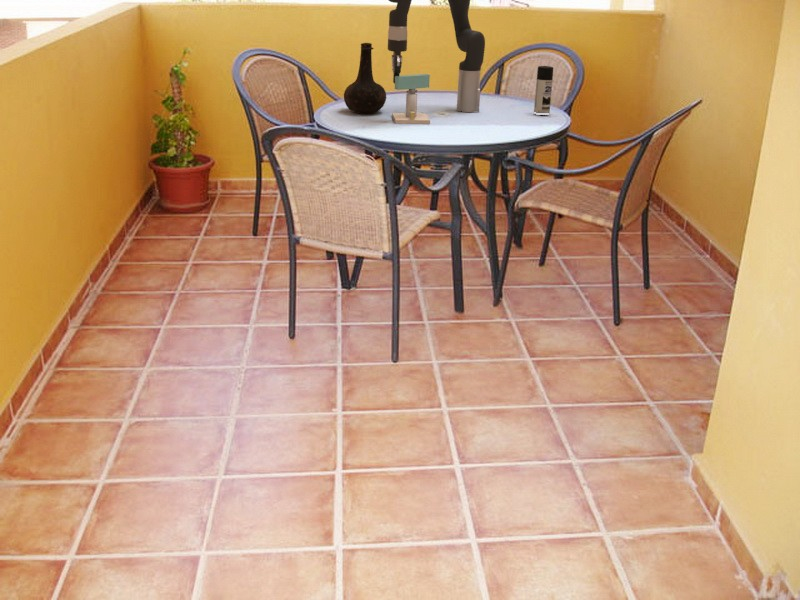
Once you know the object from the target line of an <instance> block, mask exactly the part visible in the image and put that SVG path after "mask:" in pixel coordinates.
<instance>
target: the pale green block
mask: <svg viewBox="0 0 800 600" xmlns="http://www.w3.org/2000/svg"><path fill="white" fill-rule="evenodd" d="M430 77H431V75H430V74H427V73H421V74H420V73H418V74H406V75H399V76H395V84H394V90H397V91H403V90H406V94H407V93H409V94H418V89H427V88H428V89H429V88H430Z"/></svg>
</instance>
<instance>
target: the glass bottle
mask: <svg viewBox="0 0 800 600" xmlns="http://www.w3.org/2000/svg"><path fill="white" fill-rule="evenodd" d="M372 44H373V43H370V42H363V43H360V56H359V67H358V73H357V76H356V79H355V80H354V82H352V83H351V84H349V85H348V86H347V87H346V88H345V90H344V92H343V101H344V104H345V105H346V108H347V109H349V110H350V111H351V112H353V113H356V114H360V115H361V114H362V115H363V114H364V115H369V114H371V113H372V114H376V113H378V112H379V111H380V110H381V109H382V108H383V107H384V106H385V103H386V102H387V101H386V100H387V92H386V90H385V87H383V85H381V84H380V83H378V82H375V80H374V76H373V75H374V74H373V62H372V59H373V58H372V50H373V49H374V47H372Z"/></svg>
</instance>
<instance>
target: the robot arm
mask: <svg viewBox="0 0 800 600" xmlns="http://www.w3.org/2000/svg"><path fill="white" fill-rule="evenodd" d="M388 1H389V2H391V3H393V4H394V3H395V4H396V6H395V9H391V10H390V11H389V14H388V16H389V17H388V19H389V20H388V30H387V50H388V51H389V52H393V53H392V54H391V68H392V76H393V78H392V79H393V81H392V82H393V84H394V85H395V76H400V75H401V73H402V72H401V71H402V66H403V65H402V64H403V55H401V54H402V52H403V53H404V52H406V51H407V50H408V15H409V11H410V8H411V4H412V1H413V0H388ZM470 2H471V0H447V3H448V5H449V10H450V14H451V18H452V21H453V27H454V35H455V41H456V44H457V48H458V49H459V50H460V51H461V52H463V53H465V59H464V60H463V61H460V62H459V65H458V80H457V94H456V95H457V97H456V99H457V100H456V111H457V110H458V112H461V111H462V112H461V113H475V112H474V111H479V112H480V101H481V100H480V99H481V89H480V87H481V86H480V85H481V84H480V83H481V72H482V71H481V69H482V65H483V62H484V57H485V48H486V37H485V36H484V33H482V32H481V31H479V30H473V29H472V28H471V24H470V21H469V9H470V4H471V3H470Z"/></svg>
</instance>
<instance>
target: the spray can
mask: <svg viewBox="0 0 800 600" xmlns="http://www.w3.org/2000/svg"><path fill="white" fill-rule="evenodd" d="M553 78H554V67H553V66H549V65H540V66H538V65H537V73H536V82H535V83H536V84H535V92H534V93H535V94H534V105H533V107H534V108H533V113H534V112H536V113H549V114H550V113H551V110H550V109H551V101H552V89H553V80H554V79H553Z"/></svg>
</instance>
